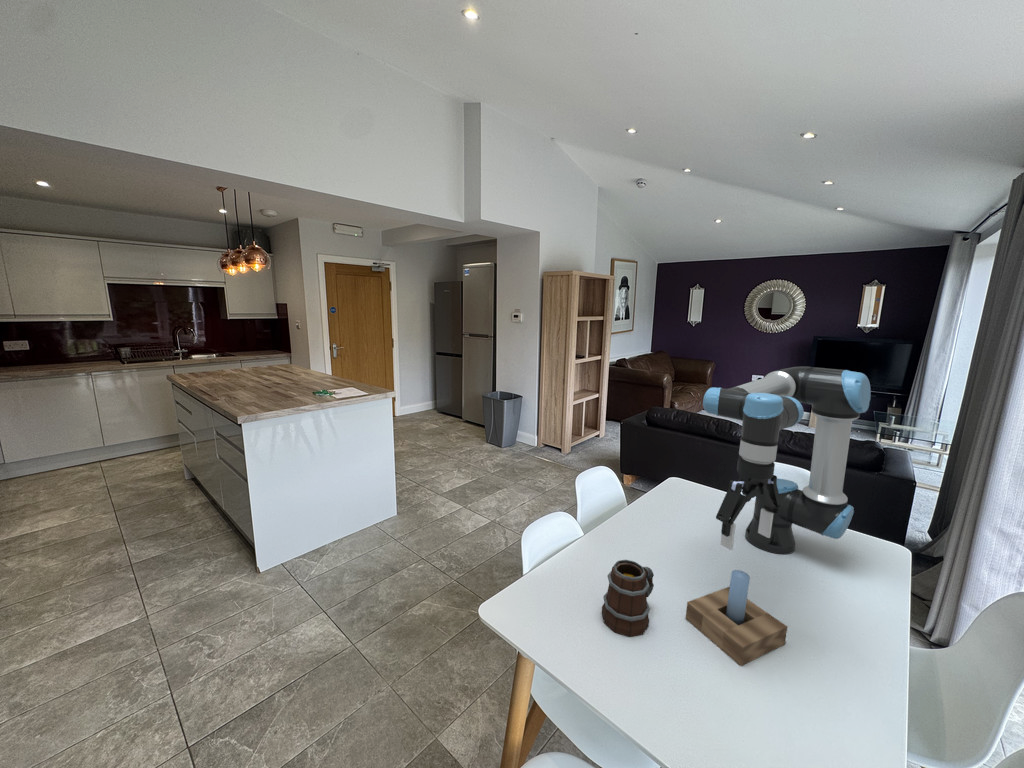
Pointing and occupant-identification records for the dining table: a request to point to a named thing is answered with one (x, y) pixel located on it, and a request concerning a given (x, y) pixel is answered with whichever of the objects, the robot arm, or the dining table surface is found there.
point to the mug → (628, 598)
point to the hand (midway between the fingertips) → (745, 541)
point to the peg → (737, 596)
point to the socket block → (736, 627)
